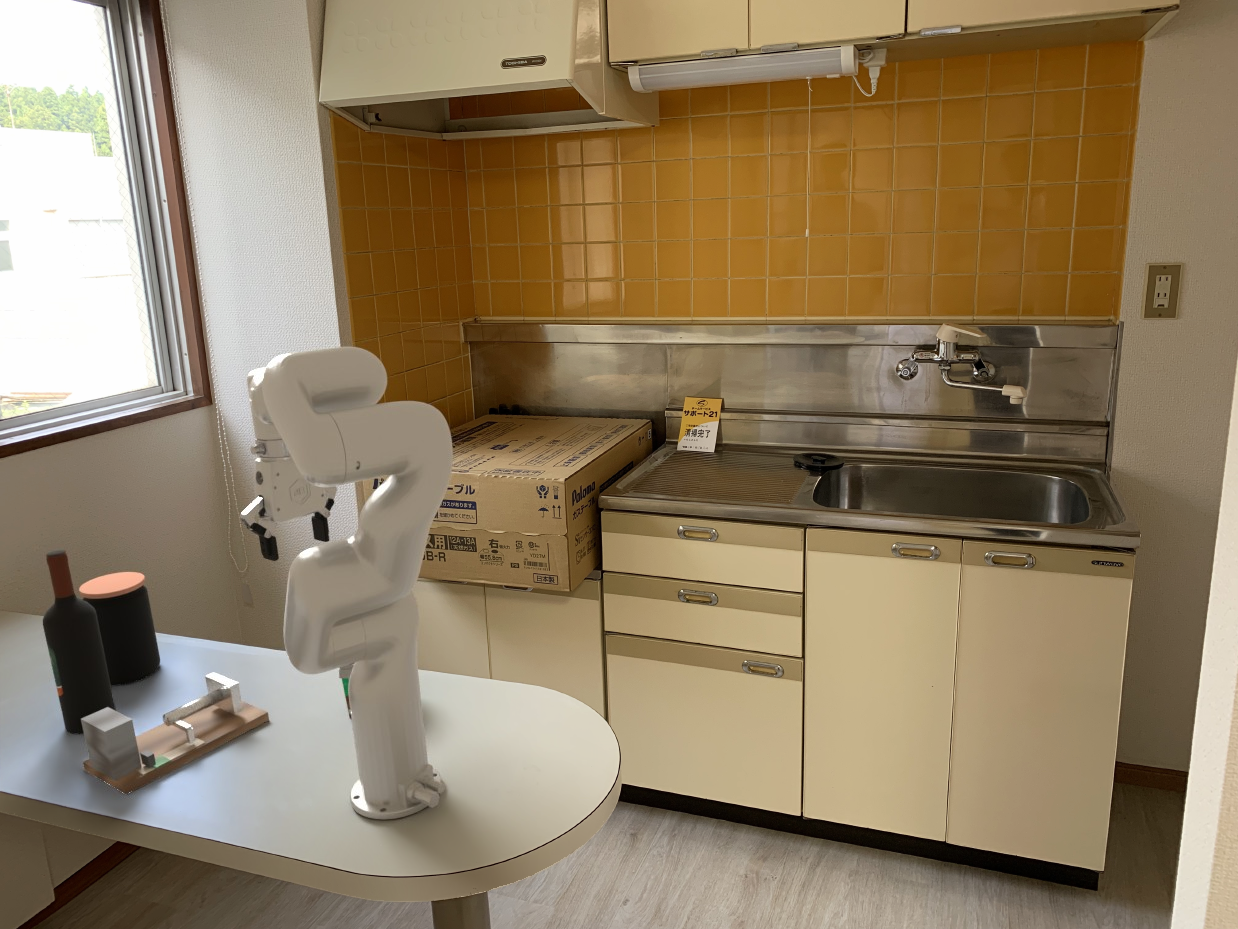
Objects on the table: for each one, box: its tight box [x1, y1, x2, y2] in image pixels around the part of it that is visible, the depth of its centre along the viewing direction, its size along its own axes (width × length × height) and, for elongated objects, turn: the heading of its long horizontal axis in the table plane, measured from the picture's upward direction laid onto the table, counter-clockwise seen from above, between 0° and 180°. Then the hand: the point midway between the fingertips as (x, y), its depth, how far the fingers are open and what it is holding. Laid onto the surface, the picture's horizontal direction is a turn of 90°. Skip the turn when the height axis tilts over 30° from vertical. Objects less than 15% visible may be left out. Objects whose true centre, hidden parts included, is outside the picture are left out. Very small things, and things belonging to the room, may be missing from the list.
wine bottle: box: [42, 549, 117, 735], centre depth 153 cm, size 8×8×30 cm
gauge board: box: [81, 700, 270, 795], centre depth 148 cm, size 12×24×10 cm, turn 145°
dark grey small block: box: [140, 750, 156, 768], centre depth 140 cm, size 2×1×2 cm, turn 55°
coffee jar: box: [78, 571, 161, 686], centre depth 172 cm, size 11×11×18 cm
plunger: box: [162, 672, 243, 743], centre depth 150 cm, size 8×11×5 cm
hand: (297, 549), depth 151 cm, fingers open, 9 cm apart
